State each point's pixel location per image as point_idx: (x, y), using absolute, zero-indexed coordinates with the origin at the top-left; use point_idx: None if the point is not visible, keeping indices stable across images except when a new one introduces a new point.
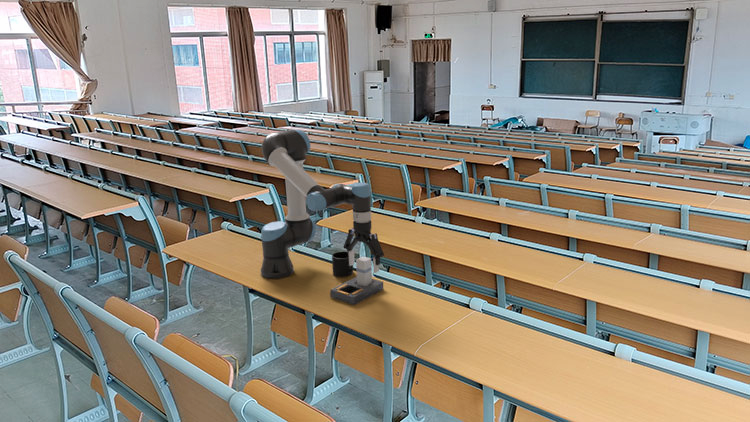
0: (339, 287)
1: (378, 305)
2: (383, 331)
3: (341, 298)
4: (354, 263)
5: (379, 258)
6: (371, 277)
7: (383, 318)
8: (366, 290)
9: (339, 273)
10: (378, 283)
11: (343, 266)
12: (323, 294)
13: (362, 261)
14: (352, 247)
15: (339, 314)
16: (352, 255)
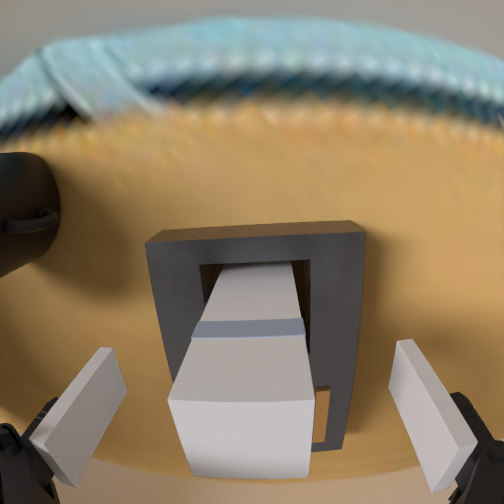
0: None
1: None
2: None
3: None
4: (111, 352)
5: (488, 442)
6: (295, 291)
7: (472, 405)
8: (350, 382)
9: (33, 259)
10: (353, 273)
11: (16, 257)
12: (155, 419)
13: (283, 477)
14: (44, 492)
15: (331, 471)
16: (80, 425)
